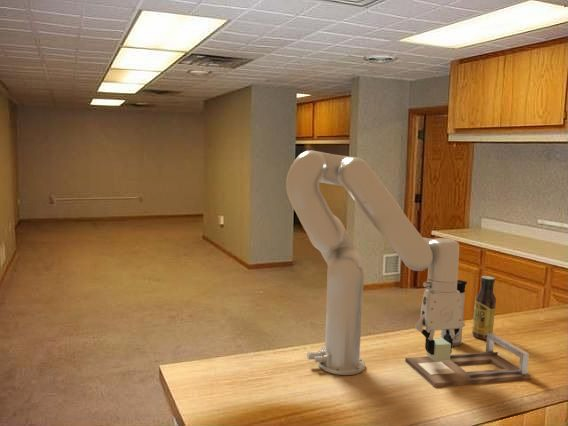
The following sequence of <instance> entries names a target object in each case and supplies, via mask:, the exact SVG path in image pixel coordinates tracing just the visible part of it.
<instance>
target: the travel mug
mask: <svg viewBox="0 0 568 426" xmlns="http://www.w3.org/2000/svg"><path fill="white" fill-rule="evenodd" d="M467 284H468V283H467V281H466V280H461V279H458V280H457V290H458V291H460V296H461V303H462V320H463V321H464V311H465V310H464V309H465V295H466V285H467ZM444 335H446V333H445V330H440V337H439V338H444ZM462 336H463V328H462V329H460V330H459V332H458V333H457V334H456V335H455V338H454V339H453V345H452V347H457V346H460V345H462Z"/></svg>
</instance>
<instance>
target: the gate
mask: <svg viewBox="0 0 568 426" xmlns="http://www.w3.org/2000/svg"><path fill="white" fill-rule="evenodd" d="M495 343H496V344H497V345H499V346H501V347H502V348H504V349H506V350H507V351H508V352H510V353H513V354H514V355H515V356H518V357H519V366H518V368H519V373H520V374H522V375H523V374H527V373H528V368H529V358H530V357H529V355H530V353H529V352H527V351H526V350H524V349H522V348H520V347H518V346H517V345H514V344H513V343H511V342H510V341H508V340H506V339H504V338H502V337H501V336H499V335H497V334H496V333H494V332H493V333H487V339H486V343H485V344H486V346H485V352H487V353H491V352H494V349H495Z"/></svg>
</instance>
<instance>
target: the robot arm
mask: <svg viewBox="0 0 568 426" xmlns="http://www.w3.org/2000/svg"><path fill="white" fill-rule="evenodd" d="M320 183H323V184H327V185H333V186H341V187H343V189H345V190H346V192H347V193H348V194H349V195H350V197H351V198H352V199H353V201H354V202H355V204H357V205H356V206H358V207H359V208H360V210H361V211H362V212H363V214H364V215H365V216H366V218H367V219H368V220H369V222H370V223H371V224H372V225H373V227H374V228H375V229H376V230H378V232H379V233H380V234H381V235H382V237H384V239H385V240H386V241H387V243H388V244H389V245H390V247H391V248H392V250H393V251H394V252H395V253H396V254H397V256H398V257H399V259H401V261H402V262H403V264H404V265H405V266H406V267H407V268H408V269H410V270H412V271H415V272H420V271H421V272H423V271H424V270H427V278H426V281H423V283H422V286H423V287H424V288H425V290H424V291H423V294H422V296H423V297H422V300H421V301H422V302H421V306H420V314H419V315H420V317H419V319H418V321H417V322H416V323H415V325H414V329H415V330H417V331H418V332H420V333H421V334H422V335H423V337H424V338H425V343H424V344H425V351H426V353H427V352H428V353H430V354H431V355H434V344H435V341H434V340H433V339H434V336H435V332H436V331H441V330H445V333H446V335H444V338H443V339H444V340H446V341H447V342H449V343H450V344H451V352H452V350H453V346H452V345H453V339H454V338H455V335H456V334H457V333H458V332H459V330H460V329H462V330H463V329H464V327H465V326H466V324H465V322H464V319H463V320H462V303H461V296H460V291H458V290H457V280H459V261H460V260H459V259H460V257H459V256H460V243H459V242H458V241H457V240H455V239H452V238H445V237H444V238H443V237H438V238H437V237H436V238H430V237H429V238H428V237H423V236H422V235H421V233H420V232H419V230H417V228H416V227H415V226H414V225H413V223H412V222H411V220H410V219H409V218H408V216H407V215H406V214H405V213H404V211H403V210H402V207H401V206H400V205H399V203H398V201H396V199H395V198H394V196H393V195H392V194H391V193H390V192H389V190H388V188H386V186H385V185H384V184H383V182H382V181H381V180H380V178H379V176H378V175H377V174H376V173H375V172H374V171H373V169H372V168H371V166H370V165H369V164H368V163H367V161H365V160H364V159H362V158H360V157H355V156H349V155H340V154H332V153H327V152H323V151H316V150H306V151H303V152H301V153H300V154H298V156H297V157H296V158H295V160H294V161H293V163H291V166H290V167H289V169H288V172H287V175H286V183H285V184H286V185H285V188H286V193H287V198H288V199H289V202H290V204H291V206H292V208H293V210H294V212H295V213H296V216H297V218H298V220H299V222H300V224H301V225H302V227H303V229H304V231H305V233H306V235H307V237H308V239H309V241H310V244H312V246H313V247H314V248H315V249H317V250H318V251H319V252H320V254H321V256H322V258H323V260H324V262H325V263H326V265H327V274H326V276H327V277H326V299H325V300H326V301H325V302H326V306H325V310H326V311H325V315H326V316H325V334H324V335H325V338H324V346H321V349H320V350H318V351H316V352H314V351H310V352H309V351H308V352H307V353H306V357H307V360H308V361H309V360H314V362H315V363H318V367H319V368H320V369H322V370H323V372H327V373H329V374H333V375H337V376H352V375H357V374H359V373H362V372H363V371H364V370H365V367H366V362H365V360H364V359H362V358H361V357H360V353H361V352H360V351H361V332H362V331H361V329H362V311H363V293H364V283H365V267H364V263H363V260H362V257H361V254H360V253H359V251H358V249H357V248H356V246H355V244H354V242H353V240H352V238H351V237H350V235H349V233H348V231H347V230H346V227H345V226H344V224H343V223H342V221H341V219H340V218H338V216H336V215H335V214H334V213H333V212H332V210H331V208H330V207H329V205H328V203H327V201H326V199H325V197H324V196H323V194H322V192H321V190H320ZM423 326H425V329H424V327H423Z"/></svg>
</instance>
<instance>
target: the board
mask: <svg viewBox="0 0 568 426" xmlns="http://www.w3.org/2000/svg"><path fill="white" fill-rule="evenodd" d="M404 361H405V363H407V364H408V365H409V366H410V368H412V369H413V370H414V371H416V373H418V374H419V375H420V376H421V377H422V378H423V379H425V380H426V381H427V383H429V384H430V385H432V387H433V388H440V387H452V386H462V385H475V384H485V383H489V384H490V383H499V382H510V381H511V382H512V381H522V380H531V378H532V376H531V374H529V373H528V372H527V374H523V375H522V374H520V373H519V366H518V365H517V366H516V365H515V364H513V363H511V361H509V360H507V359H505V358H504V357H502V356H501V355H499V353H498V352H497V351H496V352H495V351H493V352H491V353H487V352H486V351H484V352H471V353H455V354H450V360H444V361H434V360H433V359H432V358H430V357H429V356H428V355H426V356H415V357H412V356H411V357H405V360H404ZM489 363H491V364H492V365H494V366H496V367H497V369H496V368H495V369H484V370H474V371H471V370H470V371H466V370H464V369H463V368H462V367H460V366H462V365H464V366H465V365H475V364H489Z"/></svg>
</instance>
